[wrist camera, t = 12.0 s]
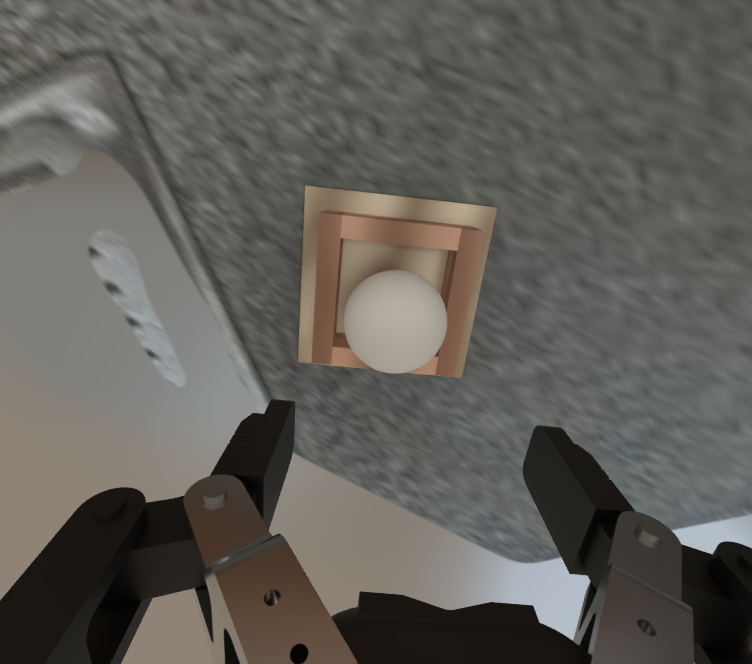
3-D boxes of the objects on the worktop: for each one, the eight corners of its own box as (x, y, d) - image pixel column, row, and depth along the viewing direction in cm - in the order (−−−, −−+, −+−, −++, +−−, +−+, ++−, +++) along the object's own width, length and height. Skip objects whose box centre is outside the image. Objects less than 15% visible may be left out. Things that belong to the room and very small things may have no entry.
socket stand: (493, 206, 29) (510, 210, 26) (459, 372, 34) (469, 395, 30) (307, 185, 29) (297, 185, 25) (300, 357, 34) (290, 378, 30)
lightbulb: (335, 276, 30) (315, 324, 20) (403, 233, 29) (419, 260, 19) (377, 338, 32) (379, 411, 22) (443, 299, 31) (477, 357, 21)
